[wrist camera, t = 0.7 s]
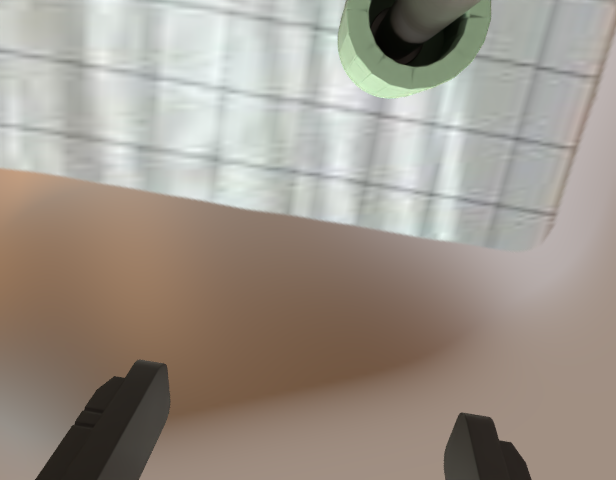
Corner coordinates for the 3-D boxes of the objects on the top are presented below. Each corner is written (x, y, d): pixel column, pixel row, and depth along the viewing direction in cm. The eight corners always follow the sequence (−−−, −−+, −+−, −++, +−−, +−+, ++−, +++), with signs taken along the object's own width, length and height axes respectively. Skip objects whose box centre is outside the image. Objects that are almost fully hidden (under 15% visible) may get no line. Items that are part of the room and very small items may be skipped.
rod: (365, 12, 32) (434, -131, 14) (420, 6, 32) (558, -146, 14) (368, 71, 33) (437, 4, 15) (422, 65, 33) (554, -9, 15)
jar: (333, -14, 32) (340, -61, 24) (446, -27, 32) (491, -78, 24) (342, 104, 34) (352, 96, 26) (449, 92, 34) (491, 81, 26)
